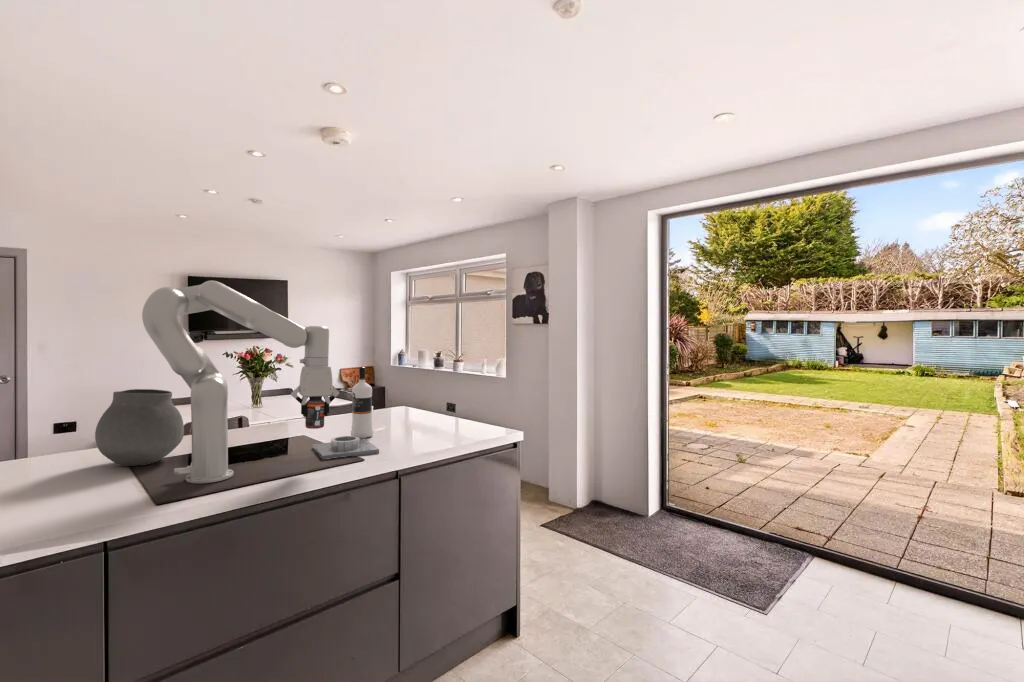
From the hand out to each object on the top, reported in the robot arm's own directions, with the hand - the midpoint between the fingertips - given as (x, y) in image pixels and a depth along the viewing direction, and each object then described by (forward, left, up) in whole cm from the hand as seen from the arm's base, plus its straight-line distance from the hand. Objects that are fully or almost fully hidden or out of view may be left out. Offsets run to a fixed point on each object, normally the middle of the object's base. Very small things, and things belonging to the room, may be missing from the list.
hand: (315, 415), depth 169 cm
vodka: (+26, +38, -17) cm, 49 cm away
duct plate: (+14, +16, -17) cm, 27 cm away
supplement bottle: (0, 0, -4) cm, 4 cm away
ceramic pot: (-50, +32, -17) cm, 62 cm away
